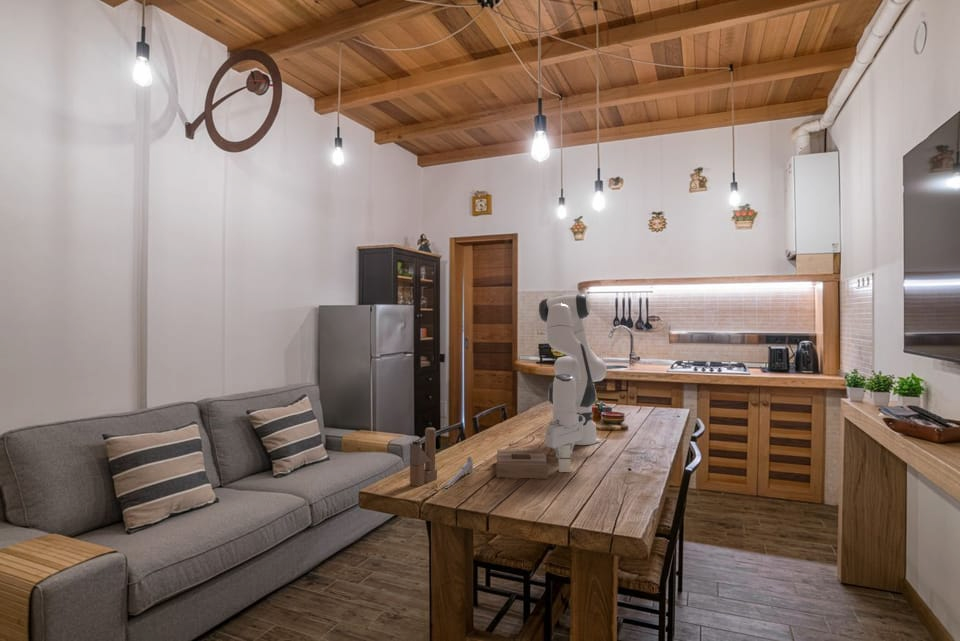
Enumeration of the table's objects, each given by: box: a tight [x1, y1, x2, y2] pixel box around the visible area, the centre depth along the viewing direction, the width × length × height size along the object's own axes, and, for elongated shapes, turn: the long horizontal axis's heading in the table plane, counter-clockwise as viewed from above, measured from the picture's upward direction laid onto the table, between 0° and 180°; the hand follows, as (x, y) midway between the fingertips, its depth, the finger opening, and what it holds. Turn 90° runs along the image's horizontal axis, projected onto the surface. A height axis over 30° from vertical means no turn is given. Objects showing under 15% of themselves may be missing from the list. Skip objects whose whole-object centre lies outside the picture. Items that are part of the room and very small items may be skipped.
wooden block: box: [409, 427, 438, 488], centre depth 176 cm, size 4×11×18 cm, turn 147°
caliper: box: [444, 456, 474, 489], centre depth 178 cm, size 20×1×6 cm, turn 156°
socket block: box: [496, 448, 549, 480], centre depth 190 cm, size 20×18×5 cm
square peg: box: [557, 444, 571, 473], centre depth 190 cm, size 4×4×10 cm
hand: (564, 455), depth 190 cm, fingers closed on square peg, 6 cm apart
